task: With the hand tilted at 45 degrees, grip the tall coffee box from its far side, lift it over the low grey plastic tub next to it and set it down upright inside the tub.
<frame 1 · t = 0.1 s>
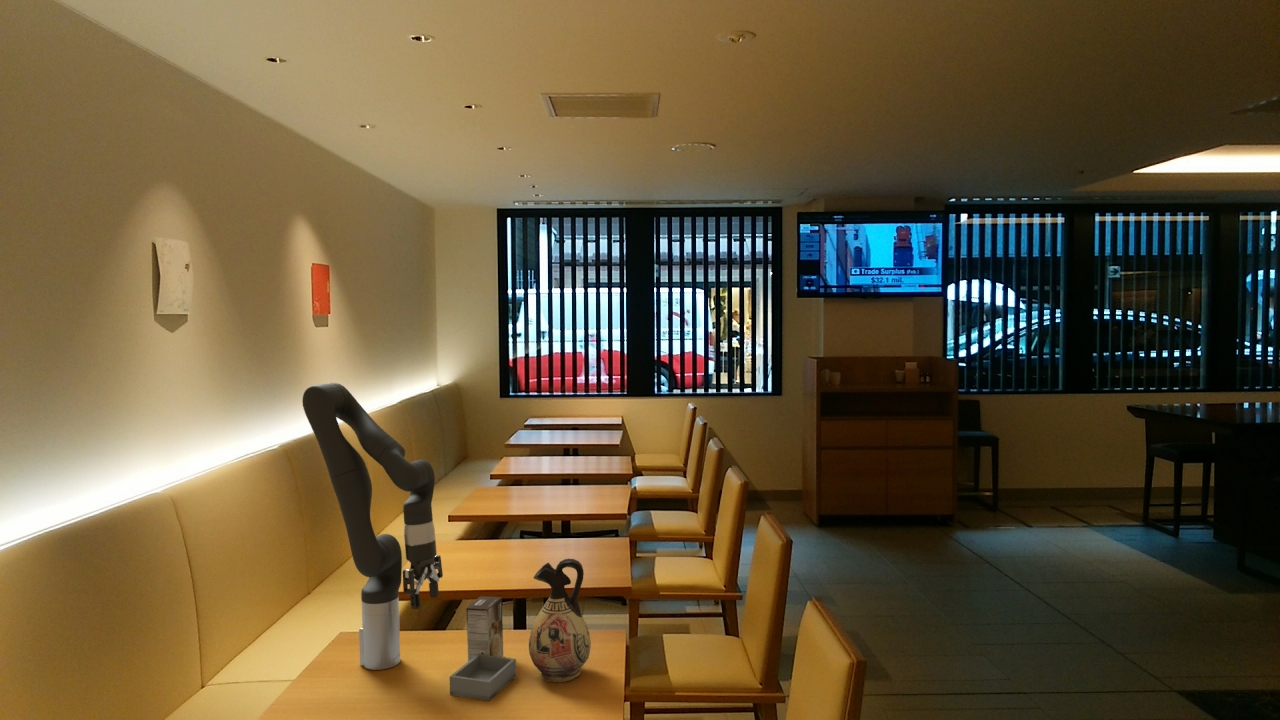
hand: (425, 602, 208), 17 cm above the table, tool pointing down, fingers open, 8 cm apart
grey tub: (483, 685, 199), on the table
coffee box: (486, 663, 213), on the table
ceramic jug: (563, 676, 204), on the table
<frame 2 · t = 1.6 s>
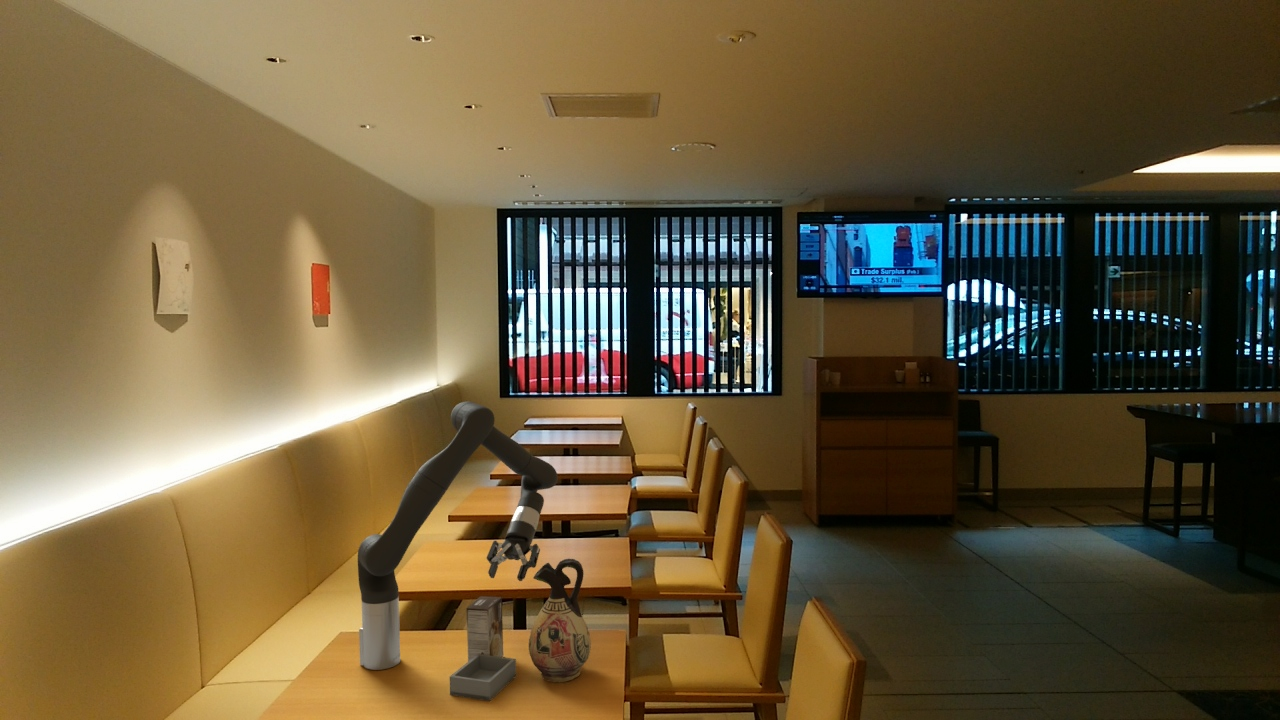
hand: (505, 578, 222), 19 cm above the table, tool tilted 45°, fingers open, 8 cm apart
nothing on the table moved.
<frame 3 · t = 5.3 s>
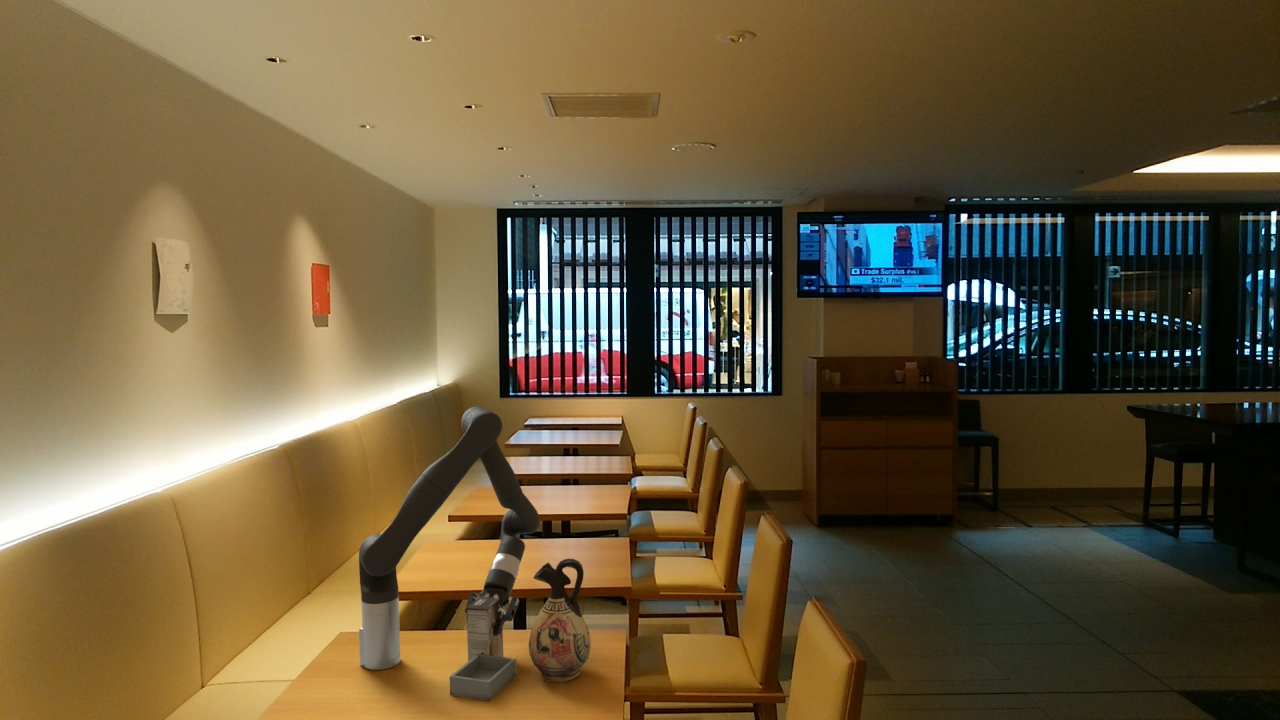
hand: (482, 633, 211), 8 cm above the table, tool tilted 45°, fingers closed on coffee box, 6 cm apart
coffee box: (486, 663, 213), on the table, touching gripper
everything else where it was.
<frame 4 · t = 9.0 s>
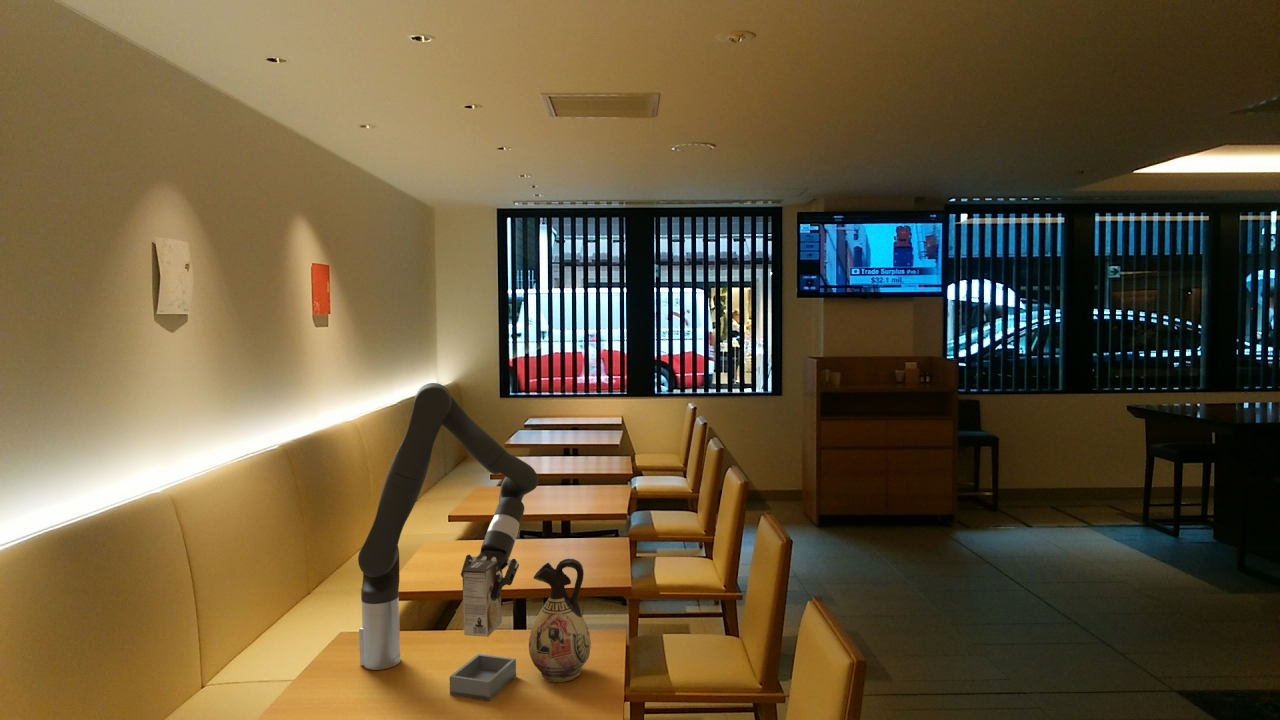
hand: (479, 597, 197), 22 cm above the table, tool tilted 45°, fingers closed on coffee box, 6 cm apart
coffee box: (483, 630, 199), point 14 cm above the table, touching gripper
everything else where it was.
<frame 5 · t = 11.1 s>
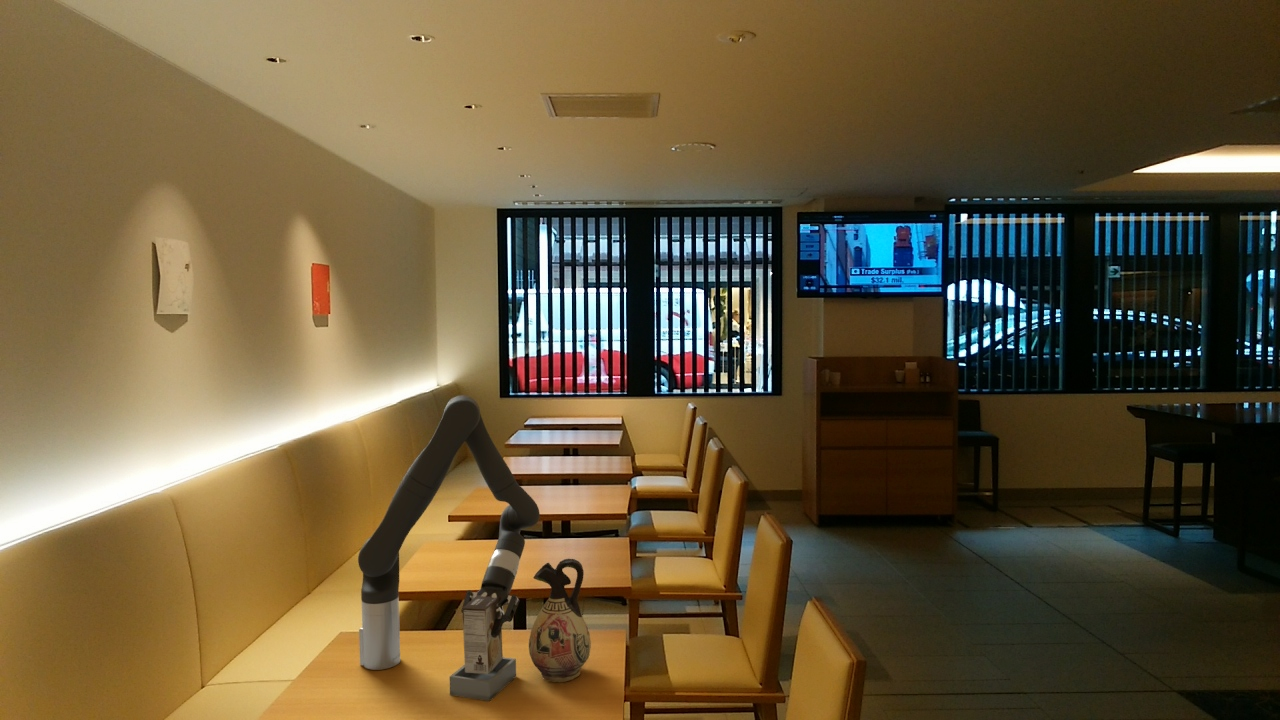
hand: (479, 634, 197), 13 cm above the table, tool tilted 45°, fingers closed on coffee box, 6 cm apart
coffee box: (484, 666, 199), point 5 cm above the table, touching gripper
everything else where it was.
when the fingers open (11 cm above the table, at t = 12.8 s): coffee box drops 1 cm, resting on grey tub.
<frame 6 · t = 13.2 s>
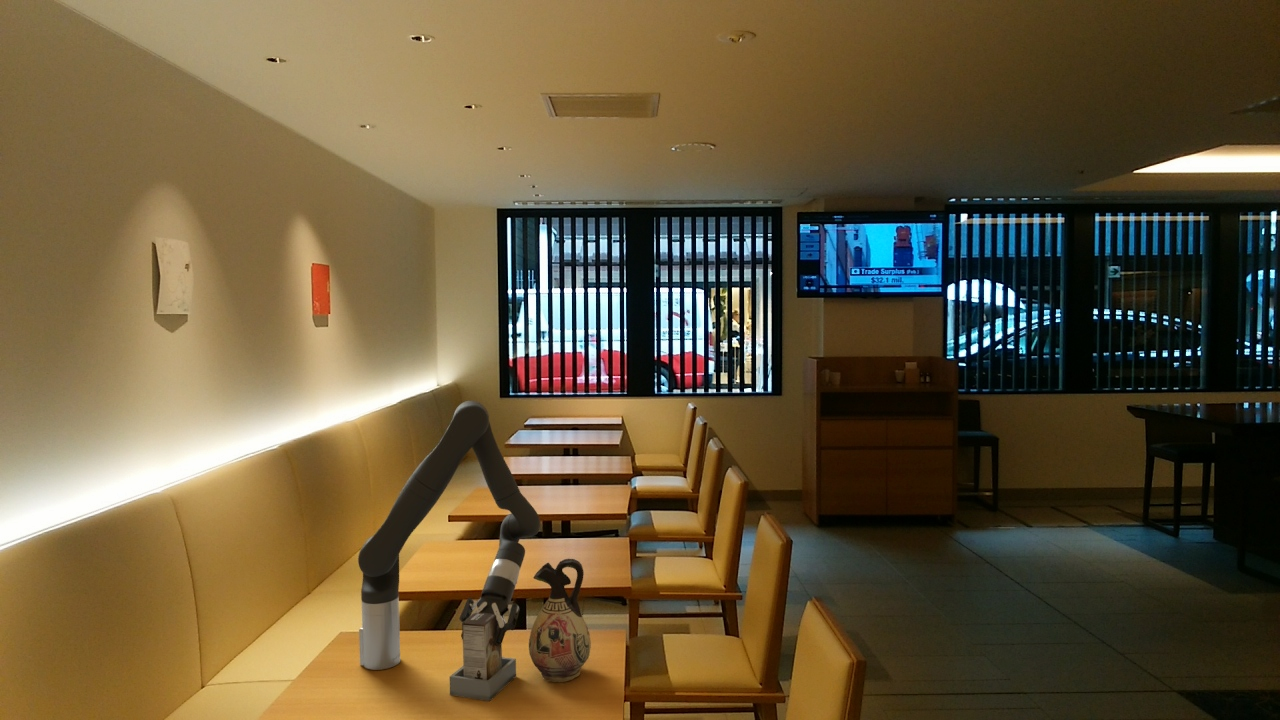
hand: (480, 642, 197), 11 cm above the table, tool tilted 45°, fingers open, 8 cm apart
coffee box: (483, 681, 200), point 1 cm above the table, touching grey tub
everything else where it was.
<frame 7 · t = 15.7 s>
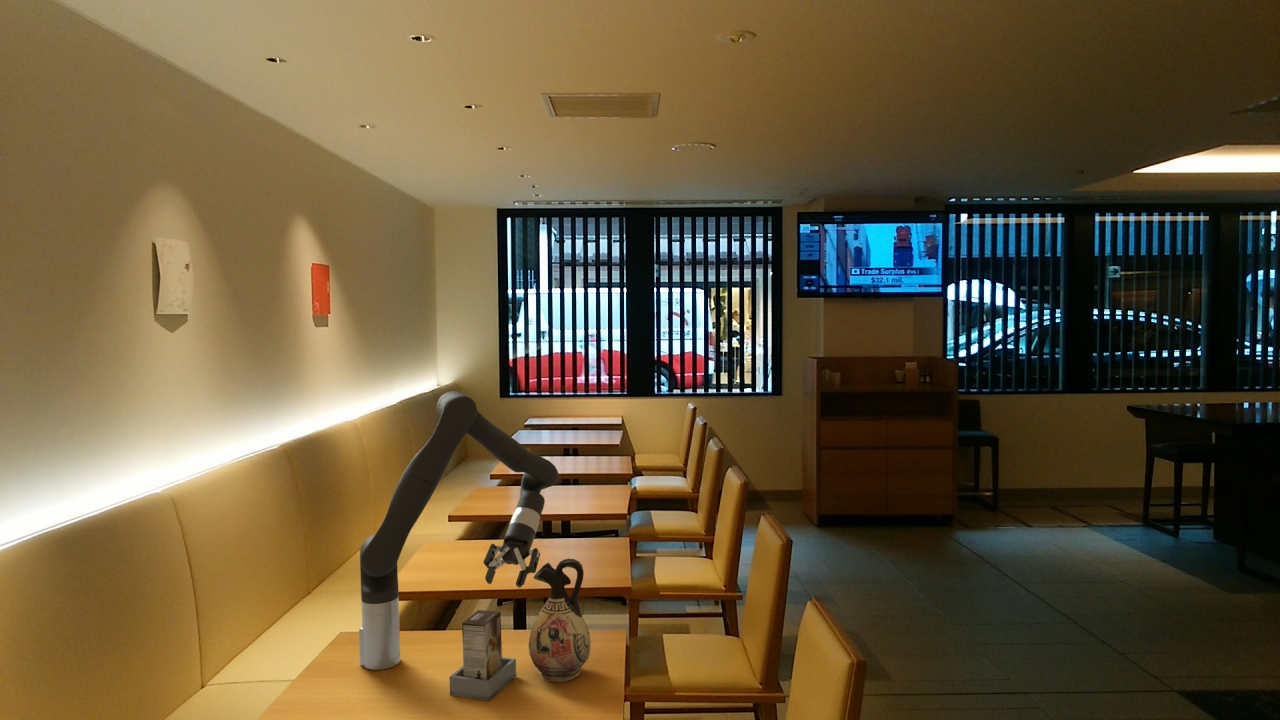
hand: (503, 584, 209), 21 cm above the table, tool tilted 45°, fingers open, 8 cm apart
nothing on the table moved.
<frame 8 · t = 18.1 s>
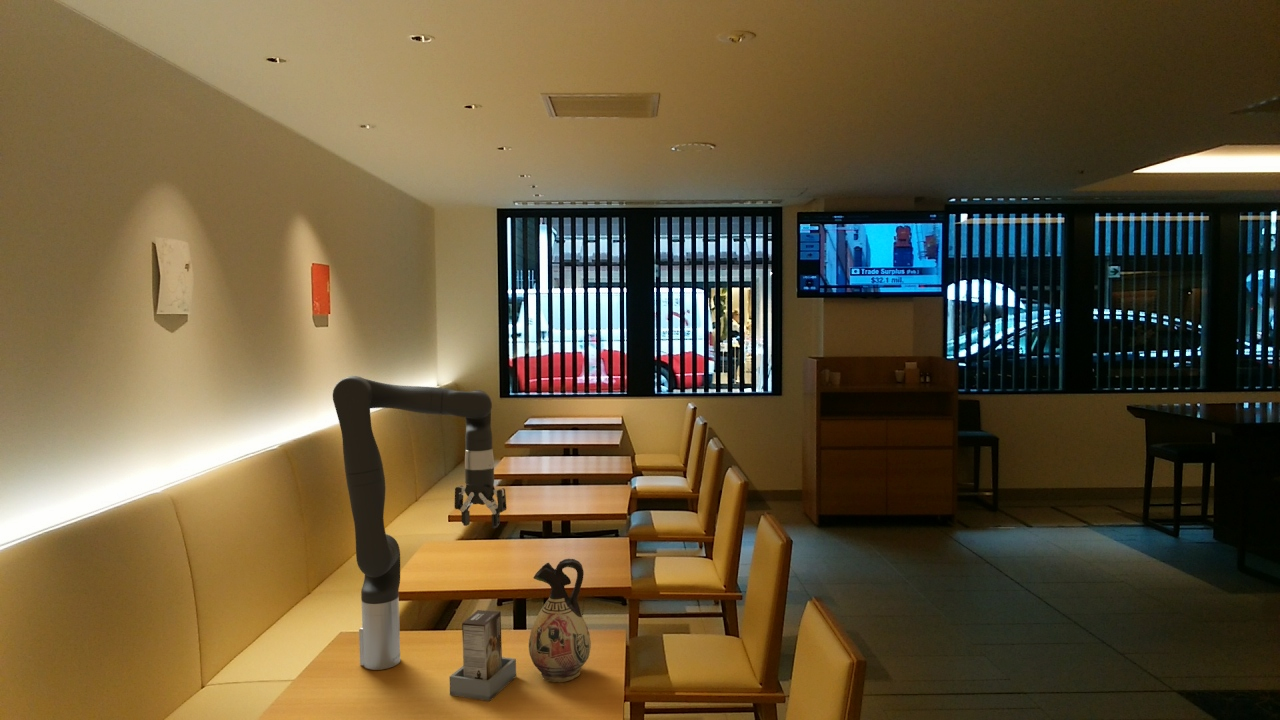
hand: (480, 526, 218), 34 cm above the table, tool pointing down, fingers open, 8 cm apart
nothing on the table moved.
at the end: coffee box inside the target area on the grey tub (0.3 cm from its centre), point 0.8 cm above the grey tub's base; coffee box tilted 0°; the gripper is holding nothing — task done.
